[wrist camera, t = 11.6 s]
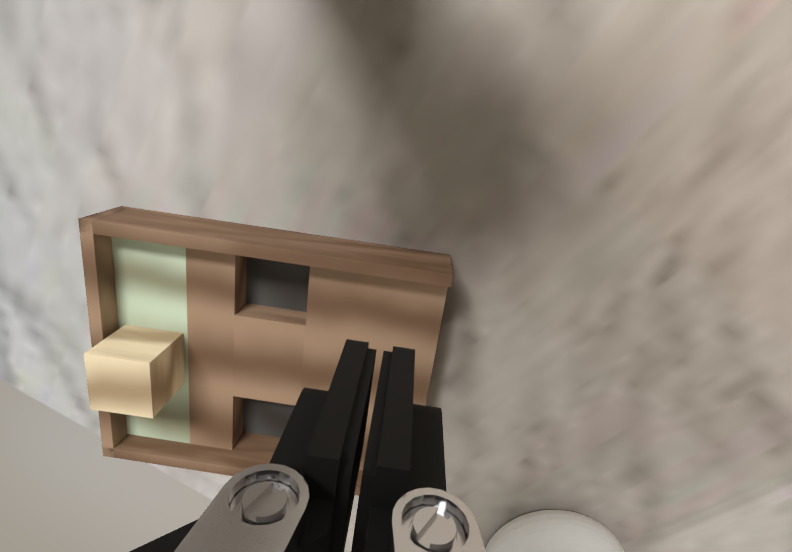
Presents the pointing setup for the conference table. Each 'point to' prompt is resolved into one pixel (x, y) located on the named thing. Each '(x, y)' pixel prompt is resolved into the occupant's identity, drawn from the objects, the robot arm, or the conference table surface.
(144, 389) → the maple block
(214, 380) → the box
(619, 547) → the decorative figurine
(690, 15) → the conference table surface
